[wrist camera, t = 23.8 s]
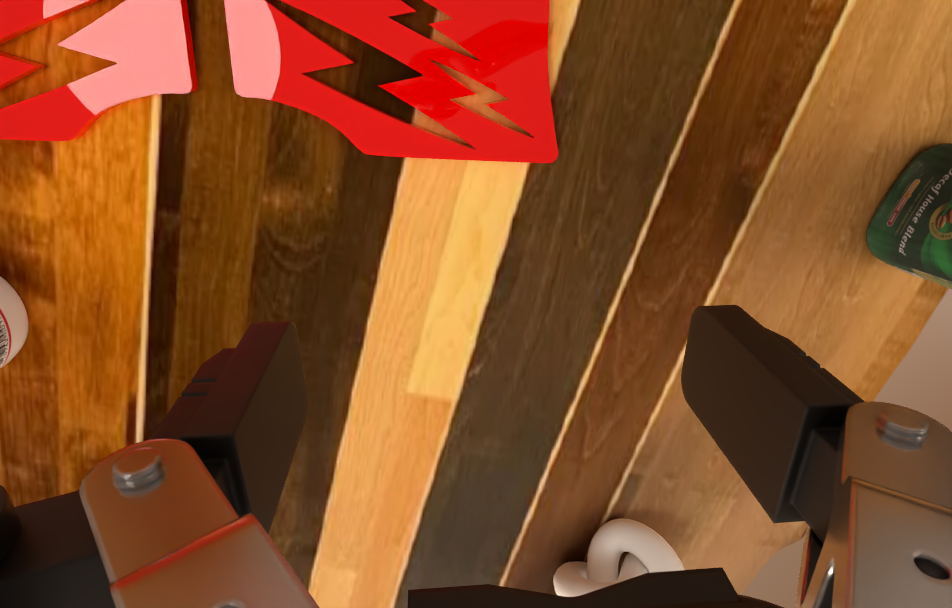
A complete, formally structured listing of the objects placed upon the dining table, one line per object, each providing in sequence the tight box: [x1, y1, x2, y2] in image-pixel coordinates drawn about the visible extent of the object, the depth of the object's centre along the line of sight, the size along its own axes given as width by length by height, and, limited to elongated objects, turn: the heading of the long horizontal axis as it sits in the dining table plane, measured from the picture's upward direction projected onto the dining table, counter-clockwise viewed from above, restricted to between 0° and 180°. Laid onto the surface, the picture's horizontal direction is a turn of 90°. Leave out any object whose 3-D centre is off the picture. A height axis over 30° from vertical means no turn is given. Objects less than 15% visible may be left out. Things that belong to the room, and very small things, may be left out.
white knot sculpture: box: [553, 518, 685, 597], centre depth 53 cm, size 11×12×9 cm
